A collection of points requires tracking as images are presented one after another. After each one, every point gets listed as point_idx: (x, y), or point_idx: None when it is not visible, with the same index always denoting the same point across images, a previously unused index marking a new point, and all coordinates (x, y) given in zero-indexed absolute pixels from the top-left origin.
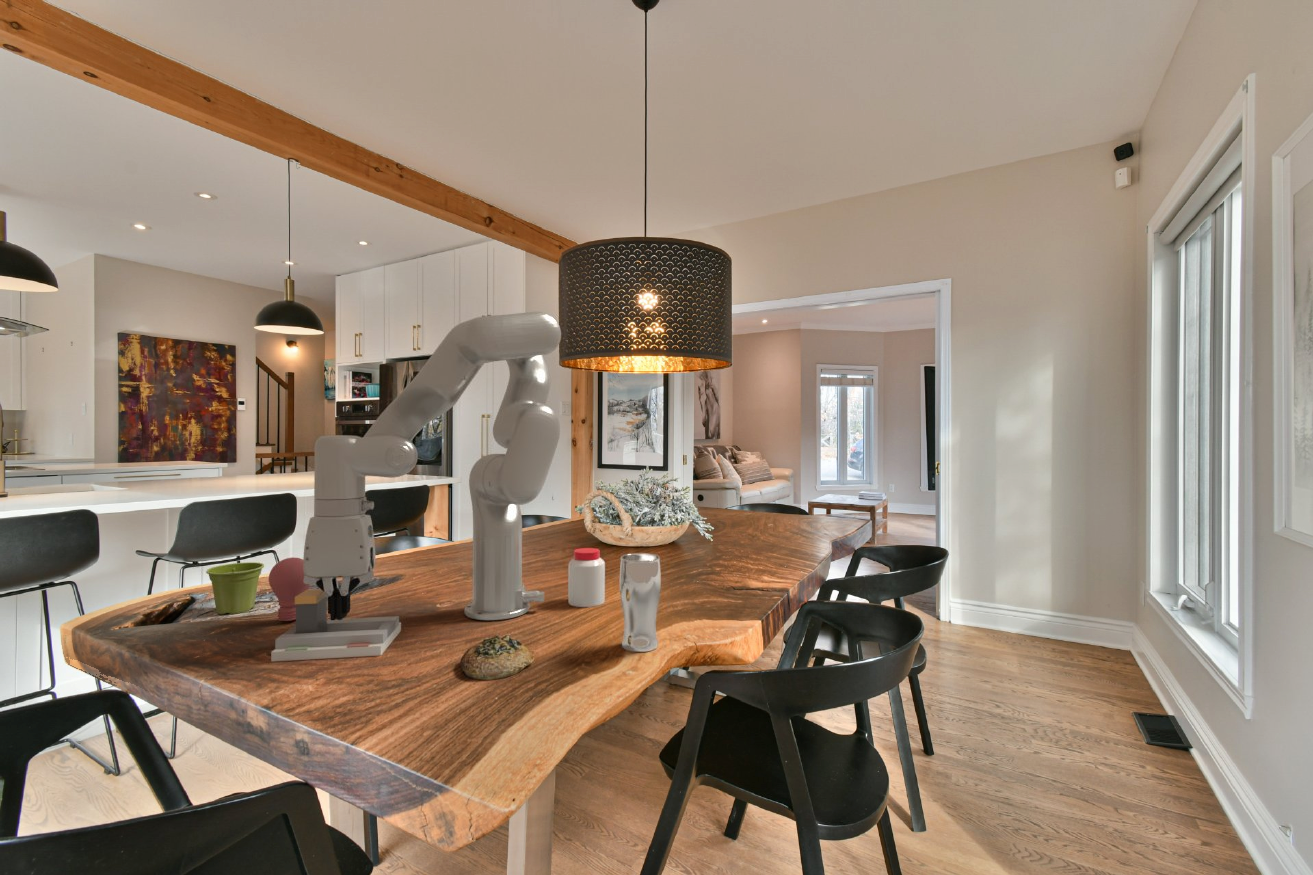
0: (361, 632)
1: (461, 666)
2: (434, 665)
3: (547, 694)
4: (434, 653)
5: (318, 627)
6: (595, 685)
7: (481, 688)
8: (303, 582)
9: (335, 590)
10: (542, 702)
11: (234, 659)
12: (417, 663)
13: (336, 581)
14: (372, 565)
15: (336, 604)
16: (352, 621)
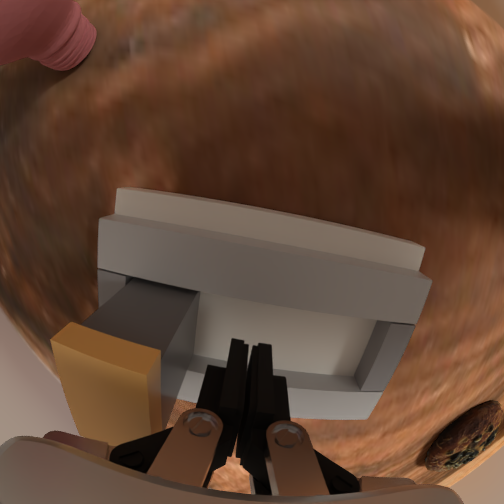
0: (318, 404)
1: (428, 457)
2: (411, 438)
3: (451, 473)
4: (430, 402)
5: (186, 364)
6: (482, 457)
7: (421, 474)
8: (27, 20)
9: (220, 461)
10: (440, 482)
11: (56, 318)
12: (394, 433)
13: (207, 470)
14: (455, 495)
15: (237, 436)
16: (285, 294)
